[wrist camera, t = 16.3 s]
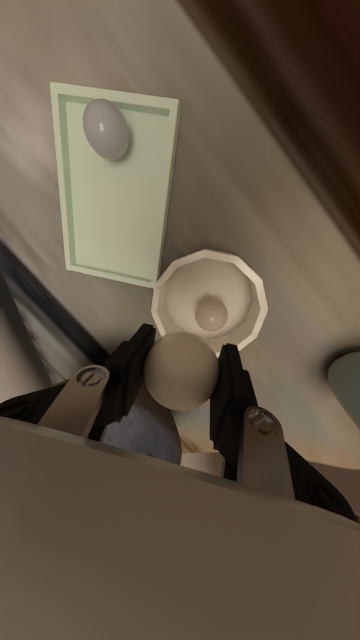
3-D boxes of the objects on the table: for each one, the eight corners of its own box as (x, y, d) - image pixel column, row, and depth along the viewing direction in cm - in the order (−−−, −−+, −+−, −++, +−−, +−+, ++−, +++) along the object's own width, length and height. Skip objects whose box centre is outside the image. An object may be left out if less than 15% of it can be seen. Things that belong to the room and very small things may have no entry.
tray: (61, 93, 18) (49, 81, 17) (181, 110, 18) (178, 99, 16) (73, 267, 26) (66, 269, 24) (158, 286, 25) (155, 289, 23)
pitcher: (73, 331, 30) (-332, 594, 8) (204, 347, 27) (165, 842, 5) (92, 417, 39) (-77, 665, 16) (194, 436, 36) (163, 772, 13)
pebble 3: (201, 291, 24) (195, 301, 20) (232, 299, 23) (231, 310, 20) (195, 318, 26) (188, 331, 22) (223, 326, 25) (221, 341, 21)
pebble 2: (159, 313, 11) (133, 349, 7) (226, 328, 11) (233, 374, 7) (152, 366, 13) (128, 417, 9) (209, 380, 12) (208, 439, 9)
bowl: (169, 240, 22) (159, 240, 18) (272, 261, 21) (286, 266, 17) (157, 329, 28) (147, 344, 23) (239, 348, 27) (243, 368, 22)
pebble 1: (98, 112, 18) (70, 81, 15) (136, 118, 18) (117, 87, 14) (99, 163, 20) (73, 145, 16) (134, 169, 20) (116, 152, 16)
